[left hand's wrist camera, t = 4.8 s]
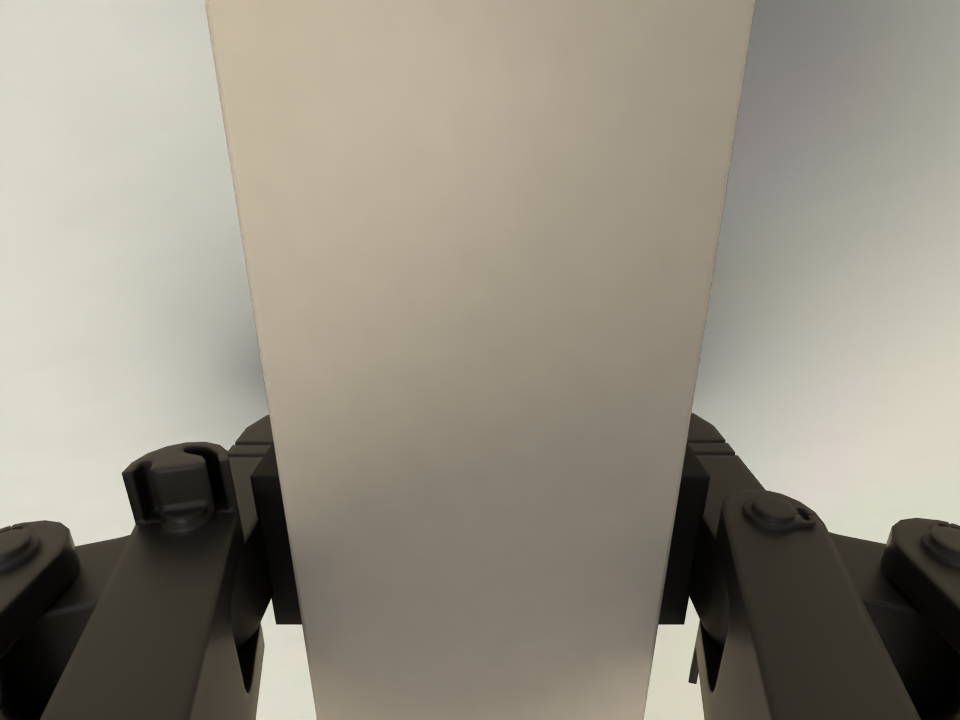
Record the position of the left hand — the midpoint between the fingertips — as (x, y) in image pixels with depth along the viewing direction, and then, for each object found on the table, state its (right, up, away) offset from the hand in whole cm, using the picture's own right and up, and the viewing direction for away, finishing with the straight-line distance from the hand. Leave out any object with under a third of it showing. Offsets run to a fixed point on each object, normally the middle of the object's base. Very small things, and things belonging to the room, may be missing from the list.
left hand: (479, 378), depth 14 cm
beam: (0, -21, +9) cm, 23 cm away
